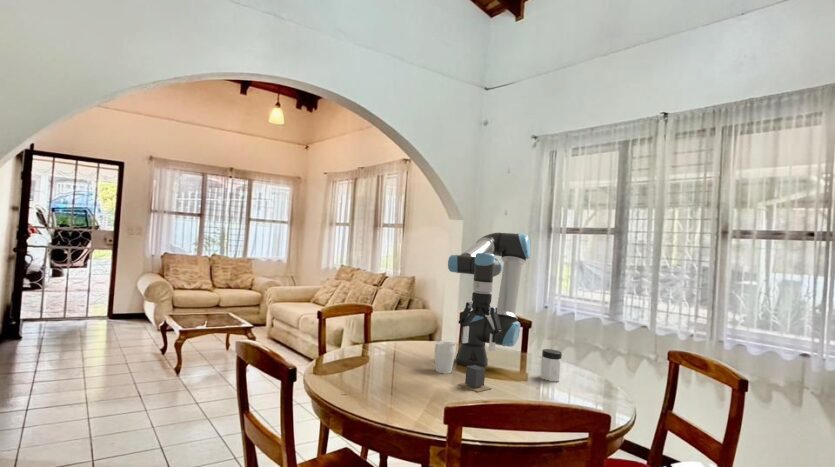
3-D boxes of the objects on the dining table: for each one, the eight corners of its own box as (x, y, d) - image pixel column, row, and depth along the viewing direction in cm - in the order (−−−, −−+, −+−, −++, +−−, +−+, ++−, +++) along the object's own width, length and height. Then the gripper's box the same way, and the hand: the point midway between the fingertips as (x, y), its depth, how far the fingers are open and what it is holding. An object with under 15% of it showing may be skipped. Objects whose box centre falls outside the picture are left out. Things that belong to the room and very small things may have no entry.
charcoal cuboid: (465, 383, 174) (466, 366, 174) (473, 381, 178) (475, 364, 178) (475, 387, 170) (476, 369, 171) (484, 385, 174) (485, 368, 174)
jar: (544, 381, 191) (546, 352, 191) (536, 375, 199) (538, 348, 199) (563, 382, 192) (566, 354, 192) (555, 376, 200) (557, 349, 200)
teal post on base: (458, 384, 175) (459, 366, 175) (471, 381, 180) (473, 364, 181) (477, 392, 168) (479, 373, 168) (491, 389, 173) (492, 370, 173)
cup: (454, 375, 188) (456, 346, 188) (433, 373, 188) (435, 344, 188) (453, 369, 197) (455, 342, 197) (432, 367, 197) (435, 340, 197)
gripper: (452, 288, 182) (448, 340, 182) (502, 297, 163) (497, 355, 163) (464, 288, 187) (460, 339, 187) (514, 296, 168) (510, 353, 168)
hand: (478, 346), depth 175 cm, fingers open, 13 cm apart
